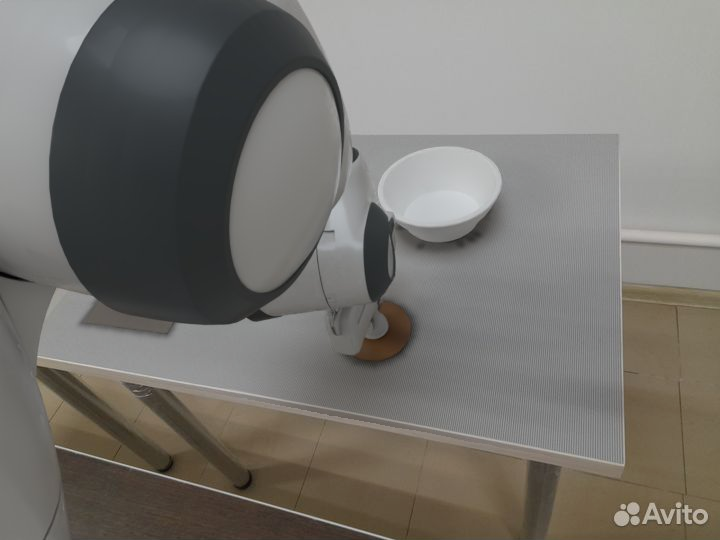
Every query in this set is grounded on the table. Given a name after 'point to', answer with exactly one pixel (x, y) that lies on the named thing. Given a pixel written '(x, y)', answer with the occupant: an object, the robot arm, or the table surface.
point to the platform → (125, 320)
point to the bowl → (440, 191)
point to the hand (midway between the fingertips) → (372, 317)
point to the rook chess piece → (378, 325)
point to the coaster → (387, 336)
